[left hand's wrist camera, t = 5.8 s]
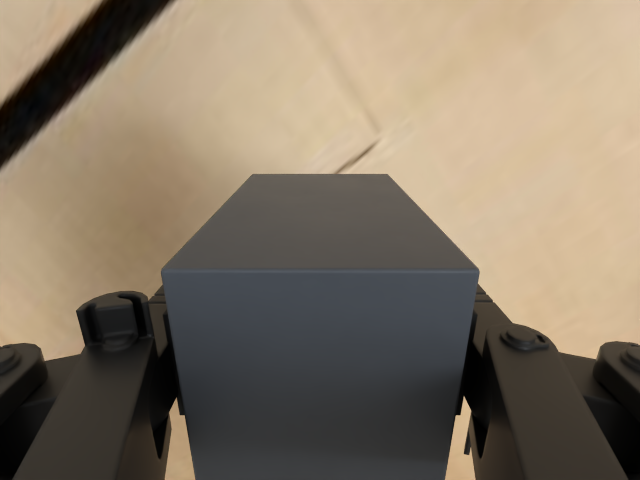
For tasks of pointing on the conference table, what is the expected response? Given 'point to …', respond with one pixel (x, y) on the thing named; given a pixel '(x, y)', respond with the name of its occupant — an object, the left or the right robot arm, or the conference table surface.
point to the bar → (320, 332)
